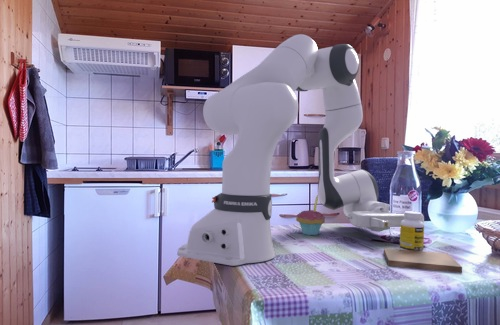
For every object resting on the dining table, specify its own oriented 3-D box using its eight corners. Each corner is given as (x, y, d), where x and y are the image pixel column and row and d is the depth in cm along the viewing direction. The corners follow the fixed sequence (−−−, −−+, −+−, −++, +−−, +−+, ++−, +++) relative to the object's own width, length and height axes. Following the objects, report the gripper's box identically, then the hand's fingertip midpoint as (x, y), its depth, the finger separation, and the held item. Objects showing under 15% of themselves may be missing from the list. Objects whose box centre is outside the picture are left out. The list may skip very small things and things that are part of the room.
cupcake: (322, 231, 111) (323, 193, 111) (326, 237, 103) (327, 196, 103) (295, 230, 112) (296, 192, 112) (296, 235, 104) (297, 195, 103)
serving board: (388, 265, 76) (388, 260, 76) (383, 252, 86) (383, 248, 86) (461, 272, 72) (462, 266, 72) (447, 258, 82) (447, 253, 82)
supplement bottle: (416, 255, 85) (417, 214, 85) (395, 250, 89) (396, 211, 89) (427, 252, 88) (428, 212, 88) (407, 247, 92) (408, 210, 92)
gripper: (343, 205, 105) (365, 212, 91) (406, 205, 108) (437, 212, 94) (342, 226, 105) (364, 236, 91) (406, 226, 108) (436, 236, 94)
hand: (402, 224), depth 93 cm, fingers open, 8 cm apart
